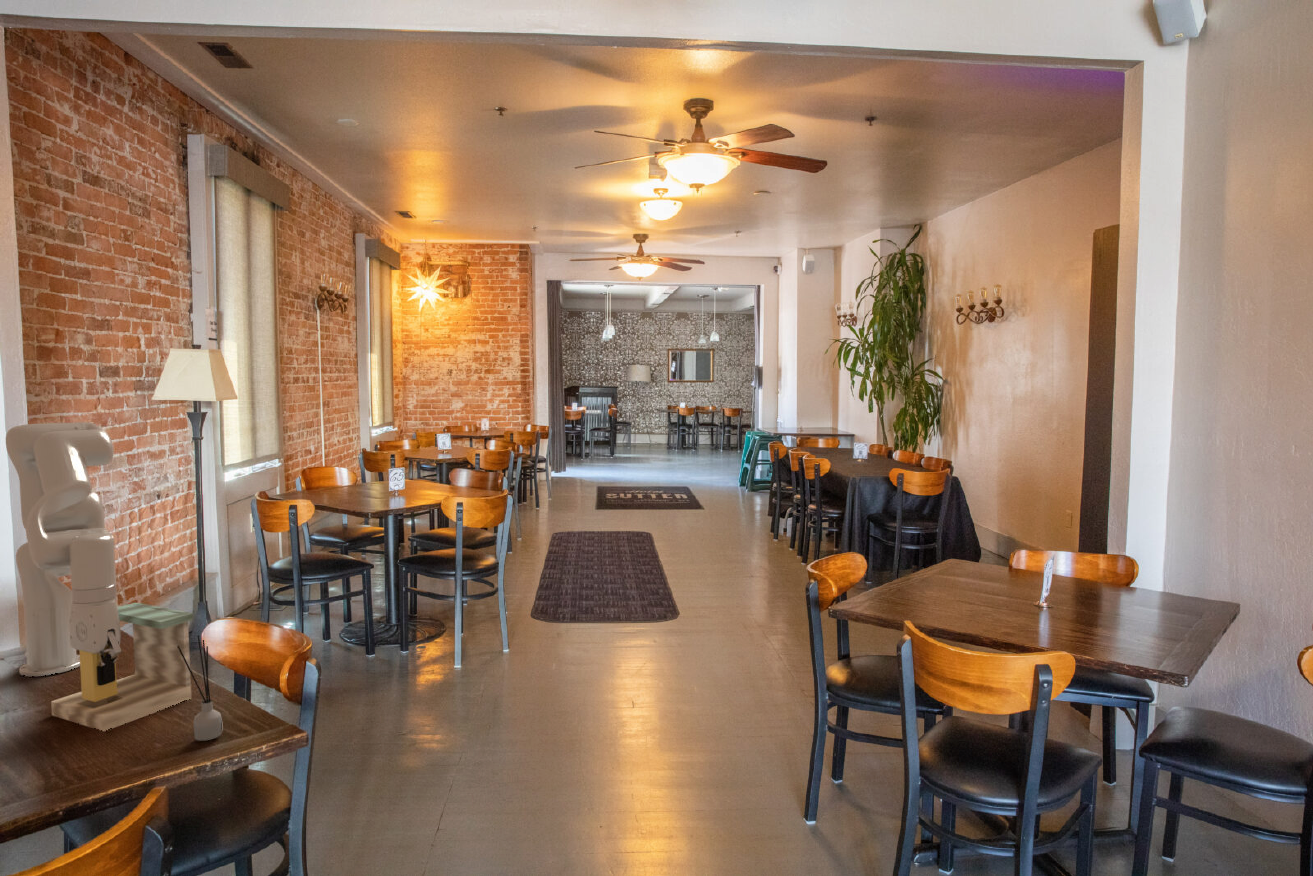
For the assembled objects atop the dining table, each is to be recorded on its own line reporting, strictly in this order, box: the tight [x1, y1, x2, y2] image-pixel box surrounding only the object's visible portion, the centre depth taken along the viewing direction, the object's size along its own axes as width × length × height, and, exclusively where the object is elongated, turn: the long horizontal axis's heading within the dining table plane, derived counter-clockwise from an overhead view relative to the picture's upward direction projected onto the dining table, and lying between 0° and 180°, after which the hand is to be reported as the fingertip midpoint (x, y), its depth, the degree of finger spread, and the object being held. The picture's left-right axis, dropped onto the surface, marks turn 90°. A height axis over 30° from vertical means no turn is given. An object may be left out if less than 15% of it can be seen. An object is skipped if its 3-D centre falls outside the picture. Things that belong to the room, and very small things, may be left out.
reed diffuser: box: [177, 634, 224, 742], centre depth 153 cm, size 10×7×20 cm
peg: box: [78, 646, 118, 702], centre depth 164 cm, size 4×4×12 cm
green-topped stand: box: [50, 602, 194, 732], centre depth 169 cm, size 20×18×19 cm
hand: (99, 680), depth 164 cm, fingers closed on peg, 4 cm apart
